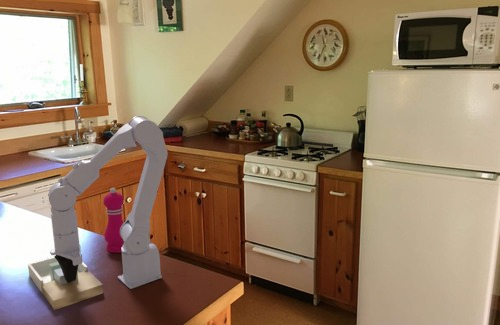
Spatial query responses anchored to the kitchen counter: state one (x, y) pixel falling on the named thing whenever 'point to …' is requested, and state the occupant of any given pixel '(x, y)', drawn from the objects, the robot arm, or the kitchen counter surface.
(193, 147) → the kitchen counter surface
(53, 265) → the tile
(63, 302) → the oak plate
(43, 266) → the box
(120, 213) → the pepper mill
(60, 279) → the tile
